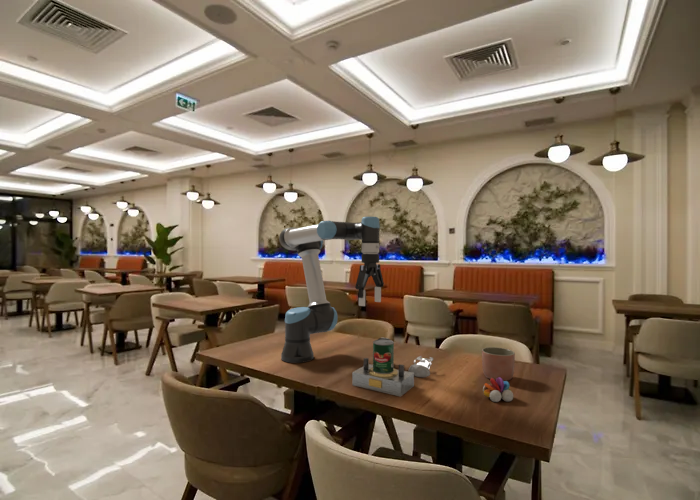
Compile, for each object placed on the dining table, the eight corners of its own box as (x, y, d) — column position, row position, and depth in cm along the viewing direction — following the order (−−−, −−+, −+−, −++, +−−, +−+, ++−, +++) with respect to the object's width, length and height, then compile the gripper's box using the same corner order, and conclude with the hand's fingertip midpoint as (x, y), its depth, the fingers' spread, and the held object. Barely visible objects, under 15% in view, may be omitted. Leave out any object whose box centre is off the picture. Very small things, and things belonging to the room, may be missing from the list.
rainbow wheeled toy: (478, 394, 134) (479, 374, 134) (504, 393, 134) (504, 373, 134) (489, 403, 125) (490, 382, 125) (517, 403, 126) (517, 381, 126)
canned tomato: (375, 374, 137) (375, 344, 137) (370, 367, 144) (370, 339, 144) (396, 373, 138) (396, 344, 138) (390, 367, 146) (390, 339, 146)
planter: (475, 375, 154) (475, 348, 154) (498, 371, 158) (498, 346, 158) (497, 385, 142) (497, 356, 142) (521, 381, 147) (522, 353, 147)
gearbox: (351, 385, 141) (351, 361, 141) (368, 376, 151) (368, 354, 151) (399, 397, 130) (400, 371, 130) (413, 386, 141) (414, 362, 141)
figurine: (405, 365, 152) (416, 353, 162) (407, 379, 153) (417, 367, 163) (427, 367, 147) (436, 355, 157) (429, 382, 148) (438, 369, 158)
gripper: (363, 253, 144) (362, 308, 144) (391, 253, 165) (391, 301, 165) (346, 253, 148) (346, 306, 148) (376, 253, 169) (376, 299, 169)
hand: (370, 303), depth 157 cm, fingers open, 13 cm apart
